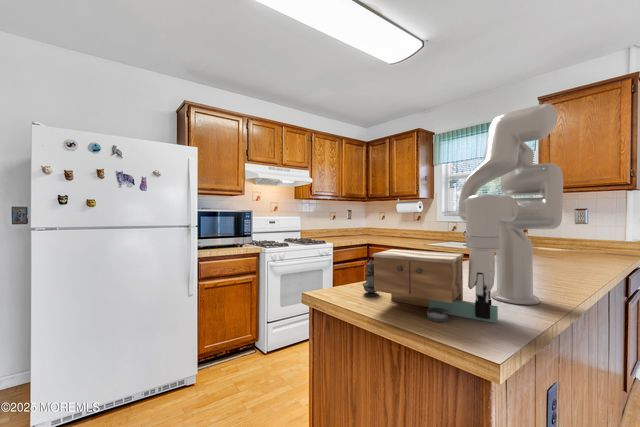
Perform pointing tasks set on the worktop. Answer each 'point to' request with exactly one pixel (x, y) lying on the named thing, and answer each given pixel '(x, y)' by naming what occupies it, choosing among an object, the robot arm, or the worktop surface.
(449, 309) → the teal blade
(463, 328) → the worktop surface
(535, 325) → the worktop surface
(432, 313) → the steel token
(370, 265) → the grey statuette
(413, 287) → the cabinet
